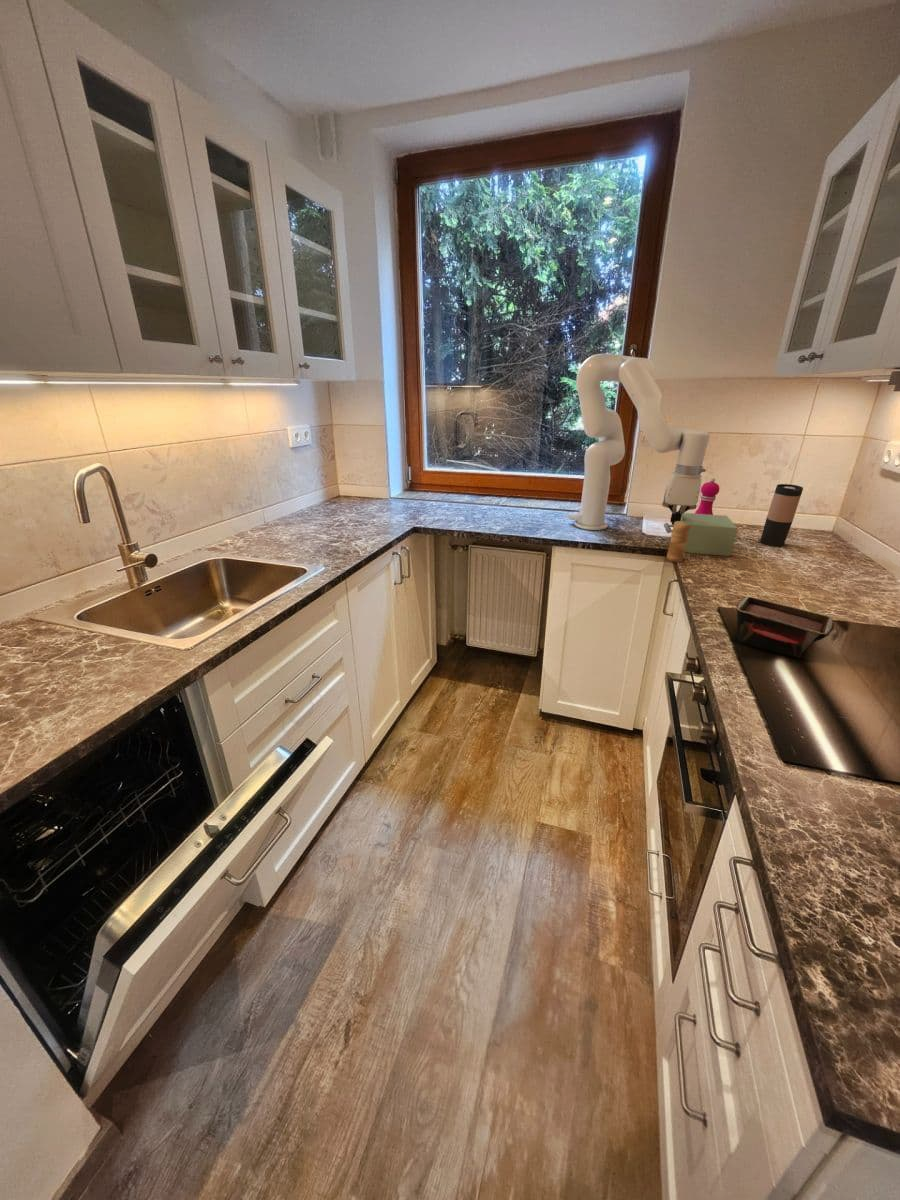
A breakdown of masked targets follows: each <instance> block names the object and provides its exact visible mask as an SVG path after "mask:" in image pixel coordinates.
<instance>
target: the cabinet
mask: <svg viewBox="0 0 900 1200" xmlns="http://www.w3.org/2000/svg"><path fill="white" fill-rule="evenodd" d="M681 517H682V518H683V520H684V521H685V522H688V523H690V524H691V527H690V531H689V535H688V539H687V543H686V548H685V552H684V553H689V554H702V555H713V556H722V557H723V556H724V557H730V556H731V554H732V551H733V548H734V544H735V539H736V536H737V533H738V526H737V525H736V524H735V523H734V522H733V521H732V520H731V519H730V518H729V516H728V515H722V514H713V515H708V514H694V513H693V512H691V513H690V512H684V514H682V516H681Z"/></svg>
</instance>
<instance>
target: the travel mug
mask: <svg viewBox="0 0 900 1200" xmlns="http://www.w3.org/2000/svg"><path fill="white" fill-rule="evenodd" d="M803 490H804V487H803V486H800V485H797V484H790V483H789V484H787V483H779V484H778V483H777V485H776V487H775V490H774V493H773V495H772V496H773V497H772V499H771V503H770V505H769V509H768V512H767V515H766V518H765V522H764V526H763V529H762V533H761V537H760V543H761V544H763V545H765V546H766V545H767V546H770V547H783V546H784V545H785V543H786V541H787V538H788V535H789V533H790V529H791V527H792V524H793V522H794V519H795V515H796V512H797V510H798V507H799V503H800V500H801V497H802V494H803Z"/></svg>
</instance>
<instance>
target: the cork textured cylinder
mask: <svg viewBox="0 0 900 1200" xmlns="http://www.w3.org/2000/svg"><path fill="white" fill-rule="evenodd" d="M690 527H691V524H690V523H688V522H684V521H675V522H674V526H673V527H672V529H671V530H672V532H671V535H670V539H669V544H668V549H667V553H666V560H668V561H669V562H674V563H680V562H683V561H684V555H685V553H686V552H685V548H686V543H687V539H688V535H689V531H690Z"/></svg>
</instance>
